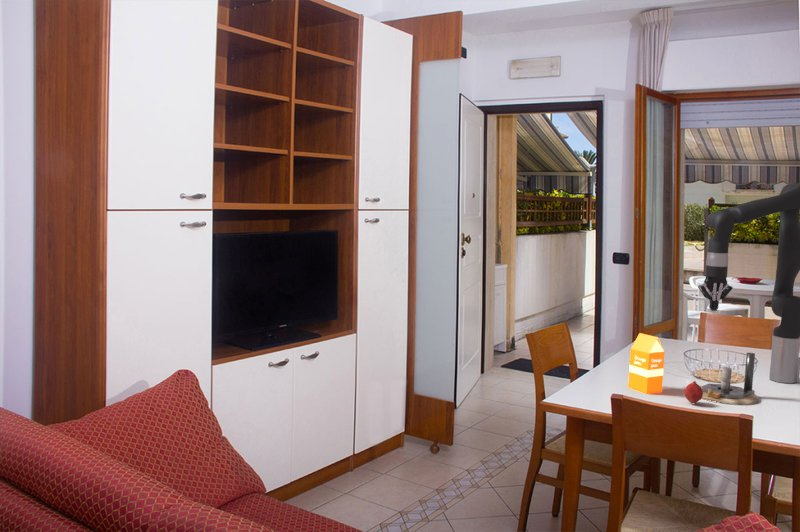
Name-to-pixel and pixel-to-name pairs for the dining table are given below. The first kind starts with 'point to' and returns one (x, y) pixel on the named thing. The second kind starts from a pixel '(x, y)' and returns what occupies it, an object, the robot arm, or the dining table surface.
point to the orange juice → (646, 365)
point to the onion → (693, 392)
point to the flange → (734, 390)
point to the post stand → (726, 387)
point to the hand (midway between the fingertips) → (713, 310)
